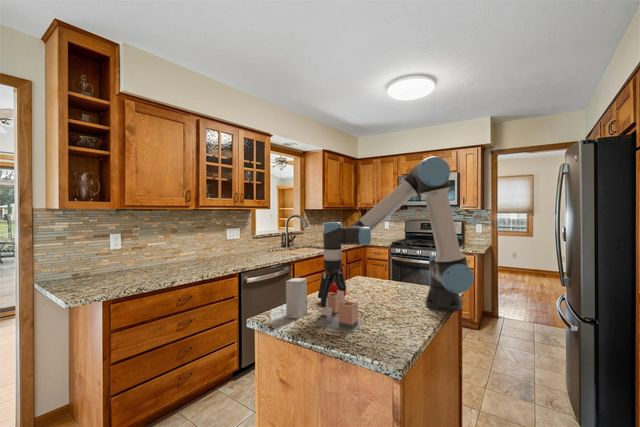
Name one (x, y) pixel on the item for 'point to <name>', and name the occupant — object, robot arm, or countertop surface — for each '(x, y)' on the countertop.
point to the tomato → (335, 289)
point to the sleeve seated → (348, 314)
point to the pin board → (334, 322)
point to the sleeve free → (334, 302)
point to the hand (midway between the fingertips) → (332, 310)
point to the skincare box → (296, 297)
